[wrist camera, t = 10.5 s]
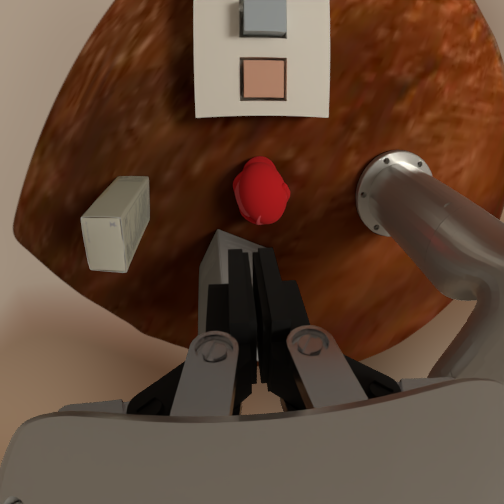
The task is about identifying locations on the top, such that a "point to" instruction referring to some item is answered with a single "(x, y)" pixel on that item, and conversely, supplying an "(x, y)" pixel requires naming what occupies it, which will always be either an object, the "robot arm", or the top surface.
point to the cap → (260, 191)
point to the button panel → (261, 48)
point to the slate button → (264, 17)
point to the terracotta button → (263, 78)
